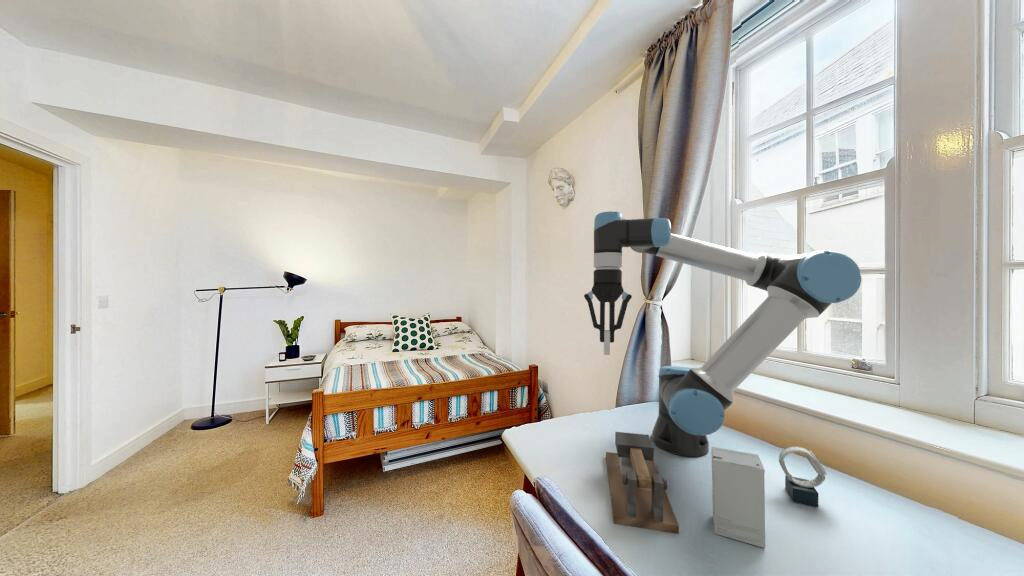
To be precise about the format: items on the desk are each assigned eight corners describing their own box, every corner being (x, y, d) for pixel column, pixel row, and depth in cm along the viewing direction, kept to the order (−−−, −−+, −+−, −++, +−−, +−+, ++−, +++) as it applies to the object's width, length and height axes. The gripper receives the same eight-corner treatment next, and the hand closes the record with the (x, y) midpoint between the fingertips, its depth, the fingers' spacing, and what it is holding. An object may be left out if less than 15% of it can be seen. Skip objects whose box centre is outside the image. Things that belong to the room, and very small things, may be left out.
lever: (648, 446, 85) (648, 434, 85) (666, 495, 65) (667, 480, 65) (615, 443, 86) (615, 431, 86) (623, 490, 67) (624, 475, 67)
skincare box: (760, 529, 65) (761, 454, 65) (766, 551, 60) (767, 469, 59) (710, 515, 69) (711, 444, 69) (711, 534, 64) (712, 457, 63)
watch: (830, 510, 70) (831, 459, 70) (782, 499, 74) (783, 450, 74) (819, 495, 76) (820, 447, 75) (775, 486, 79) (776, 440, 79)
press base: (652, 462, 89) (652, 429, 89) (678, 533, 64) (679, 487, 64) (605, 457, 92) (606, 424, 92) (613, 523, 66) (614, 478, 66)
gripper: (630, 269, 94) (629, 352, 95) (583, 269, 97) (582, 350, 97) (634, 268, 87) (633, 358, 87) (583, 268, 90) (582, 355, 90)
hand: (606, 353), depth 92 cm, fingers closed
